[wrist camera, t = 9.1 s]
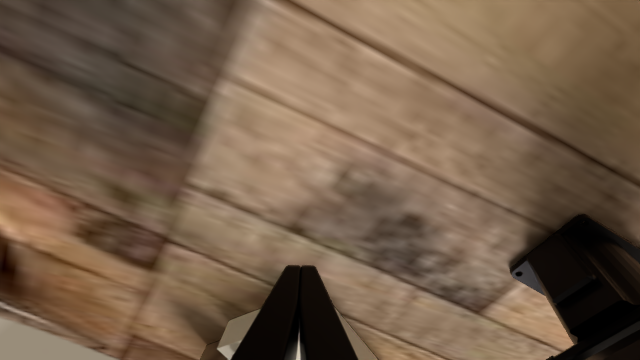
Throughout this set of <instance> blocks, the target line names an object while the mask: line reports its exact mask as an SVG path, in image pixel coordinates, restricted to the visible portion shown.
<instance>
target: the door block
mask: <svg viewBox="0 0 640 360" xmlns="http://www.w3.org/2000/svg"><path fill="white" fill-rule="evenodd" d="M334 308H335V307H334ZM335 310H336V308H335ZM259 311H260V309H258V310H256V311H253V312H250V313H248V314H245V315H242V316H240V317H237V318H234V319H232V320H229V322H228V324H227V327H226V329H225V331H224V333H223V336H222V338H221V340H220V342H219V345H218V347H217V349H218V350H219V351H220V352H221V353H222V354H223V355H224V356H225V357H226V358H227V359H229V360H231V358H232V355H233V354H234V353H235V351H236V350H237V348H238V346H239V345H240V343H241V341H242V340H243V338H244V336H245V334H246V333H247V331H248V329H249V328H250V326H251V324H252V323H253V321H254V319H255V318H256V316H257V314H258V313H259ZM336 312H337V314H338V316H339V318H340V321H341V323H342V325H343V327H344V329H345V331H346V334H347V336H348V338H349V340H350V342H351V344H352V347H353V349H354V351H355V353H356V355H357V357H358V359H359V360H378V359H377V358H376V357H375V355H374V354H373V353H372V352H371V350H370V349H369V348H368V347H367V346H366V344H365V343H364V342H363V341H362V340H361V338H360V337H359V336H358V335H357V334H356V332H355V331H354V330H353V329H352V328H351V326H350V325H349V324H348V323H347V322H346V320H345V319H344V318H343V317H342V316H341V314H340V313H339V312H338V311H337V310H336ZM296 360H301V359H300V345H299V342H298V350H297V357H296Z"/></svg>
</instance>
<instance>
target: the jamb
mask: <svg viewBox="0 0 640 360" xmlns="http://www.w3.org/2000/svg"><path fill="white" fill-rule="evenodd" d="M219 342H220V341H217V342H215V343H212V344H209V345H207V346H206V348H205V350H204V352H203V354H202V356H201V358H200V360H229V359H227V358H226V357H225V356H224V355H223V354H222V353H221V352H220V351H219V350H218V349H217V347H218V345H219Z"/></svg>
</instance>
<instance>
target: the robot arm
mask: <svg viewBox="0 0 640 360" xmlns="http://www.w3.org/2000/svg"><path fill="white" fill-rule="evenodd" d="M583 221H585V222H584V223H581V222H583ZM518 271H520V272H518ZM516 272H517V273H516ZM510 273H511V275H512V277H513V278H515V279H517V280H518V281H520V282H522V283H524V284H525V285H527V286H529V287H531V288H532V289H534V290H536V291H537V292H539V293H541V294H543V295H544V296H546V298H547V299H548V301H549V303H550V305H551V306H552V308H553V310H554V311H555V313H556V315H557V316H558V318H559V320H560V322H561V323H562V325H563V327H564V328H565V330H566V332H567V334H568V335H569V337H570V339H571V340H572V342H573V344H574V345H573V346H571V347H570V348H568V349H566V350H565V351H563V352H561V353H560V354H558V355H556V356H551V357H549V358H548V359H546V360H640V248H639V247H637V246H635V245H634V244H632V243H631V242H629V241H628V240H626V239H624V238H623V237H621V236H620V235H618V234H616V233H615V232H613V231H612V230H610V229H609V228H607V227H605V226H604V225H602V224H601V223H599V222H598V221H596V220H594V219H593V218H591V217H590V216H588V215H586V214H581V215H578V216H576V217H575V218H573V219H572V220H571V221H570V222H568V223H567V224H566V225H564V226H563V227H562V228H561V229H559V230H558V231H557V232H556V233H554V234H553V235H552V236H550V237H549V238H548V239H547V240H545V241H544V242H543V243H542V244H540V245H539V246H538V247H536V248H535V249H534V250H533V251H531V252H530V253H529V254H528V255H526V256H525V257H524V258H522V259H521V260H520V261H519V262H517V263H516V264H515V265H514V266H512V267H511V268H510ZM298 342H299V345H300V359H301V360H359V359H358V357H357V355H356V353H355V351H354V349H353V347H352V344H351V342H350V340H349V338H348V336H347V334H346V331H345V329H344V327H343V325H342V323H341V321H340V318H339V316H338V314H337V312H336V310H335V308H334V305H333V303H332V301H331V299H330V297H329V295H328V293H327V290H326V288H325V286H324V284H323V282H322V280H321V277H320V275H319V273H318V271H317V269H316V267H315V266H313V265H303V266H302V267H300V266H299V265H288V266H286V267H285V269H284V271H283V272H282V274H281V276H280V277H279V279H278V281H277V282H276V284H275V286H274V288H273V289H272V291H271V293H270V294H269V296H268V298H267V299H266V301H265V303H264V304H263V306H262V308H261V309H260V311H259V313H258V314H257V316H256V318H255V319H254V321H253V323H252V324H251V326H250V328H249V329H248V331H247V333H246V334H245V336H244V338H243V340H242V341H241V343H240V345H239V346H238V348H237V350H236V351H235V353H234V355H233V356H232V358H231V360H296V357H297V350H298Z"/></svg>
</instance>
